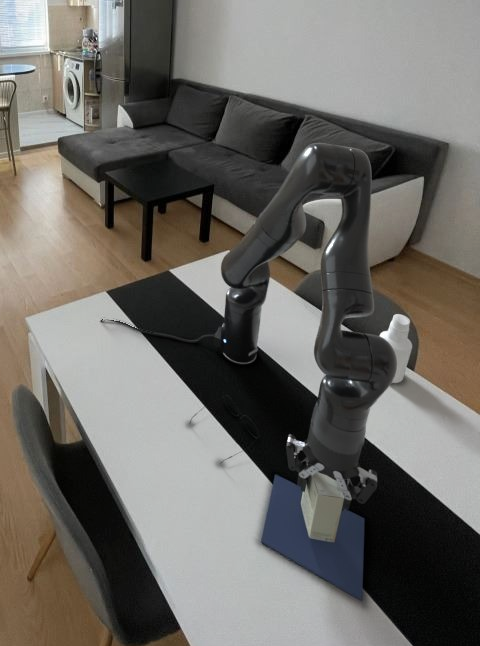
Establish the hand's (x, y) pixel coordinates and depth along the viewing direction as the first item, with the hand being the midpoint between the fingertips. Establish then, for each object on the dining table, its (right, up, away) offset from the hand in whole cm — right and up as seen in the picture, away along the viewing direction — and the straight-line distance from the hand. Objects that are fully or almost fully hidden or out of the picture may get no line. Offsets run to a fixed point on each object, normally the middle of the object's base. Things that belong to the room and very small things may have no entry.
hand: (321, 495), depth 77 cm
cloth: (+1, -10, +4) cm, 10 cm away
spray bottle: (+37, +5, +35) cm, 51 cm away
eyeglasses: (-10, -3, +23) cm, 25 cm away
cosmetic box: (0, -7, +3) cm, 8 cm away
